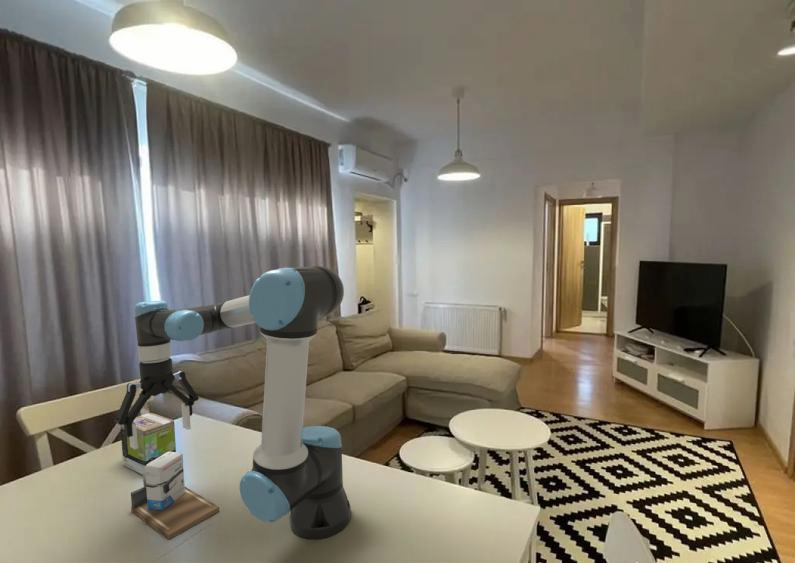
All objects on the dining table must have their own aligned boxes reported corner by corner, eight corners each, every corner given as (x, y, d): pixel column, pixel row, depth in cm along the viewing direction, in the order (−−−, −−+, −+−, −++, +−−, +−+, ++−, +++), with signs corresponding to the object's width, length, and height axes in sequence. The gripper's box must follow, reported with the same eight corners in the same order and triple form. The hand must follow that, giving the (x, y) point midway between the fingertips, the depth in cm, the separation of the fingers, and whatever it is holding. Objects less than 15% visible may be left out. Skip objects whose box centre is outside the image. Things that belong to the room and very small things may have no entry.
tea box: (178, 463, 136) (175, 419, 134) (146, 478, 127) (142, 431, 126) (153, 452, 144) (150, 410, 142) (122, 465, 135) (118, 421, 134)
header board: (219, 511, 110) (217, 477, 109) (168, 539, 99) (166, 502, 99) (180, 487, 121) (178, 457, 121) (131, 511, 111) (128, 477, 110)
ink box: (162, 511, 108) (159, 467, 107) (146, 509, 109) (143, 466, 109) (186, 492, 117) (183, 452, 116) (170, 490, 118) (168, 450, 117)
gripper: (194, 348, 122) (199, 418, 124) (94, 369, 102) (102, 453, 104) (208, 350, 118) (213, 423, 120) (107, 373, 98) (115, 460, 99)
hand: (161, 437), depth 112 cm, fingers open, 13 cm apart
